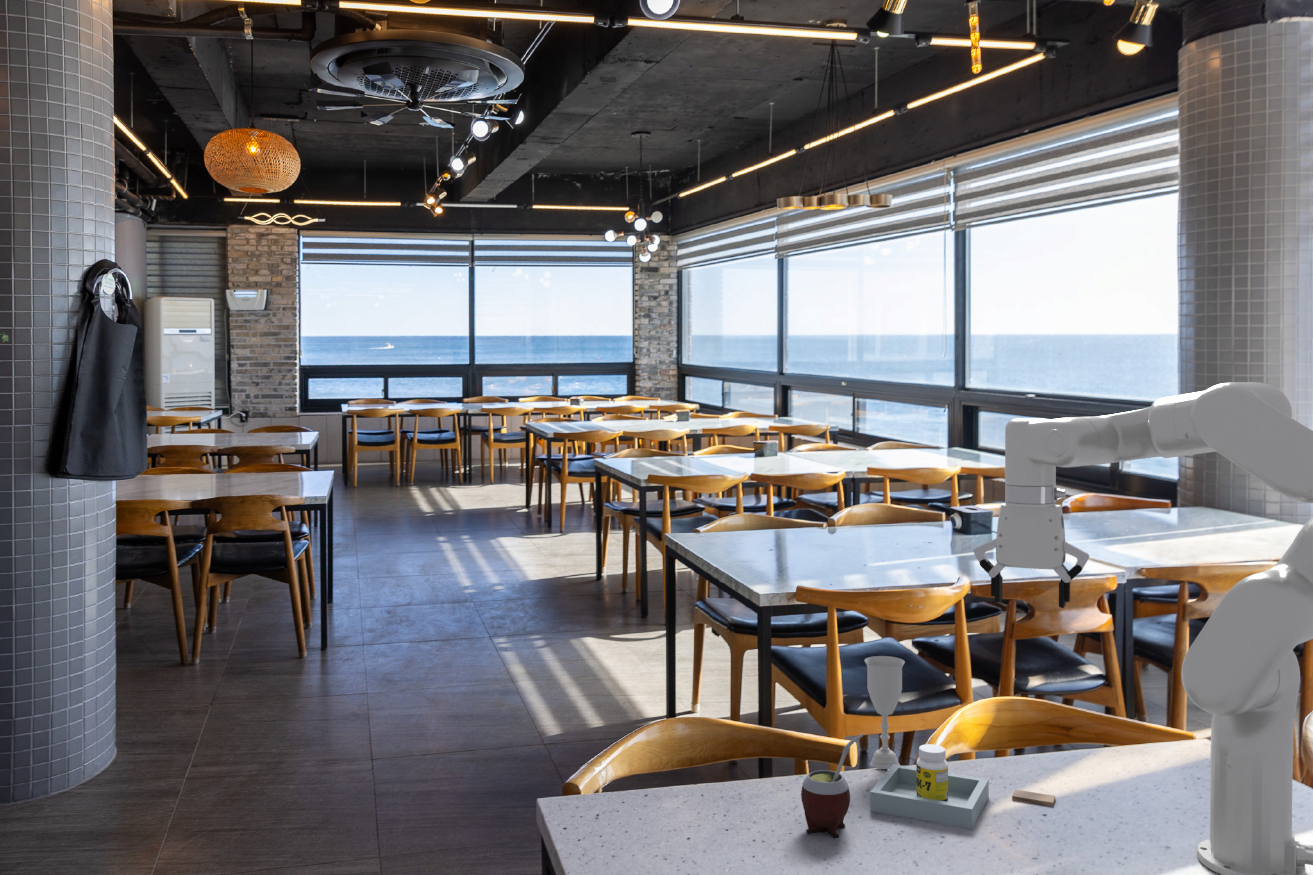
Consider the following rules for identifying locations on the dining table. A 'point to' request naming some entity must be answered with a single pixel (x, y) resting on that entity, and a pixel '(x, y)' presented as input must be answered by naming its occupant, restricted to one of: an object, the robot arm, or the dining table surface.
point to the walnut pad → (1033, 797)
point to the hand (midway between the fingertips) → (1030, 603)
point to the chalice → (884, 700)
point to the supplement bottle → (932, 773)
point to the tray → (901, 799)
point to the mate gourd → (826, 798)
